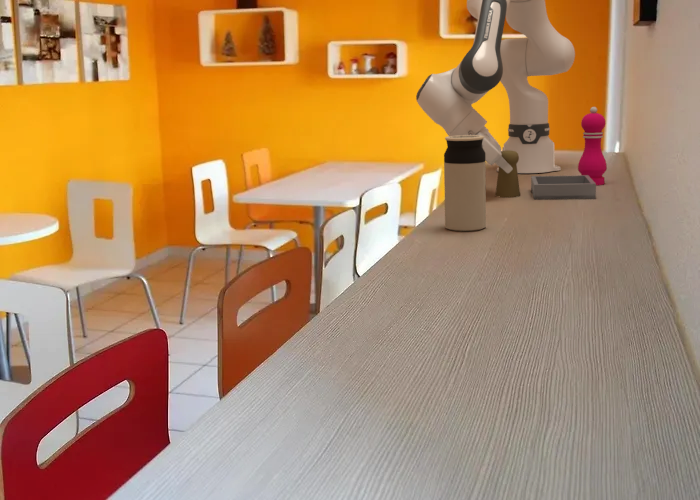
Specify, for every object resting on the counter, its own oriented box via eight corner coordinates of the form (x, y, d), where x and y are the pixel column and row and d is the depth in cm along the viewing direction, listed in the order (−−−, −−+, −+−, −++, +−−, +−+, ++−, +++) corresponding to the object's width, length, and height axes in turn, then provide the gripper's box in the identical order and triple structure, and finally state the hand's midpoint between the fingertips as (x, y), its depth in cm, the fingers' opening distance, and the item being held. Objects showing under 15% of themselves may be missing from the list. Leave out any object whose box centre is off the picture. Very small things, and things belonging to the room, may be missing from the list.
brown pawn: (520, 197, 196) (520, 151, 194) (494, 197, 197) (494, 152, 195) (520, 193, 202) (520, 149, 199) (495, 193, 203) (495, 149, 201)
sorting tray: (531, 189, 207) (531, 176, 206) (587, 189, 205) (588, 175, 204) (534, 199, 192) (534, 184, 191) (595, 198, 189) (596, 183, 188)
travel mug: (488, 231, 157) (488, 137, 153) (447, 232, 157) (445, 138, 153) (482, 223, 164) (482, 134, 160) (443, 225, 165) (441, 135, 161)
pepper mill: (603, 181, 216) (605, 105, 212) (608, 185, 209) (611, 106, 205) (575, 182, 217) (576, 106, 213) (580, 186, 210) (581, 107, 206)
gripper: (478, 123, 187) (521, 165, 187) (479, 118, 206) (518, 155, 207) (458, 143, 188) (501, 184, 189) (461, 136, 208) (500, 173, 208)
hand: (510, 169), depth 198 cm, fingers closed on brown pawn, 5 cm apart
